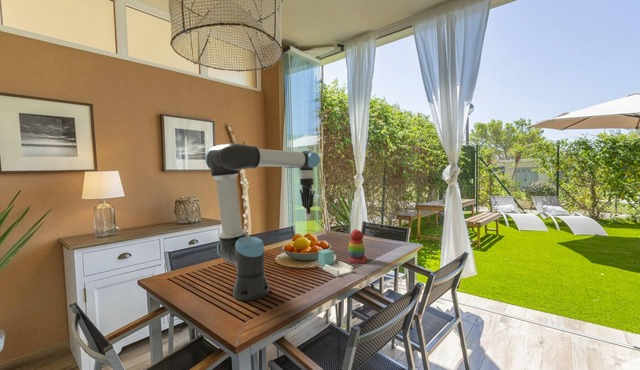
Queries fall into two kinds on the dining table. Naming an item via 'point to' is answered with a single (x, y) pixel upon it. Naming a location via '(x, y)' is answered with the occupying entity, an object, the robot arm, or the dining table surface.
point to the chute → (338, 268)
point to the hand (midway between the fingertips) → (307, 219)
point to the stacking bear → (357, 248)
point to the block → (326, 257)
